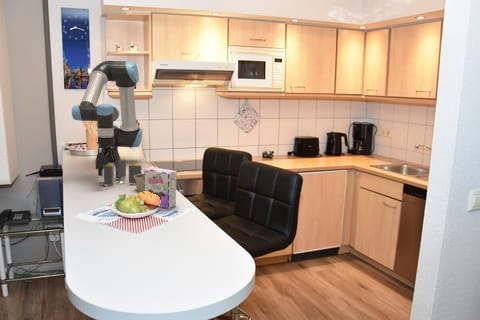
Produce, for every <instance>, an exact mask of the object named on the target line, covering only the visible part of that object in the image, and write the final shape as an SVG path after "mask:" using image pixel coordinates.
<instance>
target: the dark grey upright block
mask: <svg viewBox="0 0 480 320" xmlns="http://www.w3.org/2000/svg"><path fill="white" fill-rule="evenodd" d="M103 169H104V182H99V184H100V185H104V187H110V185H114V176H113V165H109V164H107V165H104V166H103Z"/></svg>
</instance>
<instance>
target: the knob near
mask: <svg viewBox="0 0 480 320" xmlns="http://www.w3.org/2000/svg"><path fill="white" fill-rule="evenodd" d="M114 174H115V179H117V180H124V178H125V177H127V159H126V158H125V157H124V158H123V157H121V159H120V160H119V161H116V163H115V165H114Z"/></svg>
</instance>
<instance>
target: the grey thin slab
mask: <svg viewBox="0 0 480 320" xmlns="http://www.w3.org/2000/svg"><path fill="white" fill-rule="evenodd" d="M142 166H143V165H142V164H141V163H135V164H129V165H128V183H129V184H132V185H133V186H137V185H136V180H135V178H134V176H135V175H137V174H143V171H142Z"/></svg>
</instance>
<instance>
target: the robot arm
mask: <svg viewBox="0 0 480 320" xmlns="http://www.w3.org/2000/svg"><path fill="white" fill-rule="evenodd" d="M139 78H140V74H139V69H138V66H137V64H136V63H135V62H134V61H128V60H126V61H125V60H104V61H102V62H100V63H98V64H97V65H96V66H94V68H93V69H92V70H91V71H90V74H89V81H88V85H87V87H86V89H85V91H84V93H83V96H82V99H81V101H80V103H79V105H78V104H76V105H73V107H72V108H71V117H72V119H73V120H75V121H81V122H82V121H83V122H96V125H97V127H96V128H97V129H96V133H97V146H98V148H97V154H96V156H95V170H97V183H100V182H104V169H103V166H106V165H107V164H109V165H113V177H114V176H115V163H116V161H119V160H120V159H122V157H121V156H120V153H119V147H120V148H139V147H140V146H141V143H142V138H143V129H142V128H140V125H139V124H138V123H137V115H136V114H137V113H136V100H135V99H136V98H135V87H136V86H137V83H139V80H140V79H139ZM108 82H115V86H116V87H117V88H118V94H119V95H118V97H119V106H120V110H119V109H118V108H117V107H116V106H113V104H110V103H100V104H98V102H99V99H100V97H101V94H102V91H103V88H104V87H105V85H106V84H108ZM97 104H98V105H97ZM120 117H121V118H120ZM119 118H120V119H121V125H120V126H118V125H115V124H114V122H115V121H117V120H118V119H119Z"/></svg>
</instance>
